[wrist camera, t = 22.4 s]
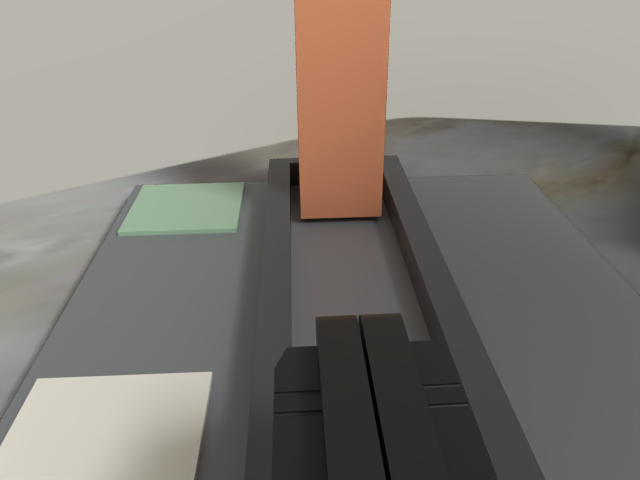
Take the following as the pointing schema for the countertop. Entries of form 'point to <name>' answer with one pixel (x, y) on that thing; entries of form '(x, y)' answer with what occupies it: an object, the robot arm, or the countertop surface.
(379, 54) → the handle
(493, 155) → the countertop surface
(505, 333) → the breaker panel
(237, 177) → the countertop surface
